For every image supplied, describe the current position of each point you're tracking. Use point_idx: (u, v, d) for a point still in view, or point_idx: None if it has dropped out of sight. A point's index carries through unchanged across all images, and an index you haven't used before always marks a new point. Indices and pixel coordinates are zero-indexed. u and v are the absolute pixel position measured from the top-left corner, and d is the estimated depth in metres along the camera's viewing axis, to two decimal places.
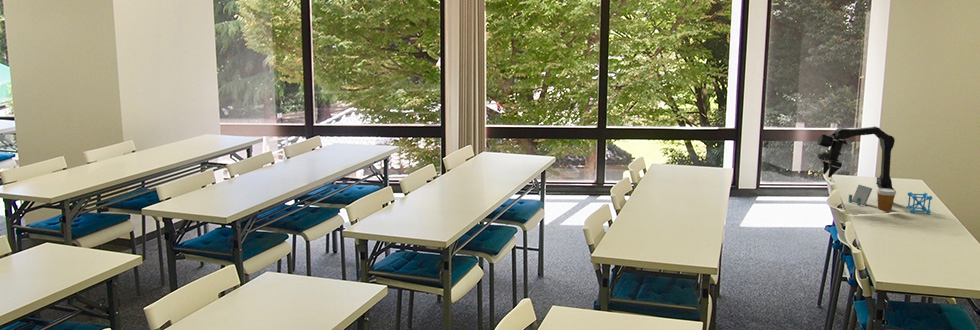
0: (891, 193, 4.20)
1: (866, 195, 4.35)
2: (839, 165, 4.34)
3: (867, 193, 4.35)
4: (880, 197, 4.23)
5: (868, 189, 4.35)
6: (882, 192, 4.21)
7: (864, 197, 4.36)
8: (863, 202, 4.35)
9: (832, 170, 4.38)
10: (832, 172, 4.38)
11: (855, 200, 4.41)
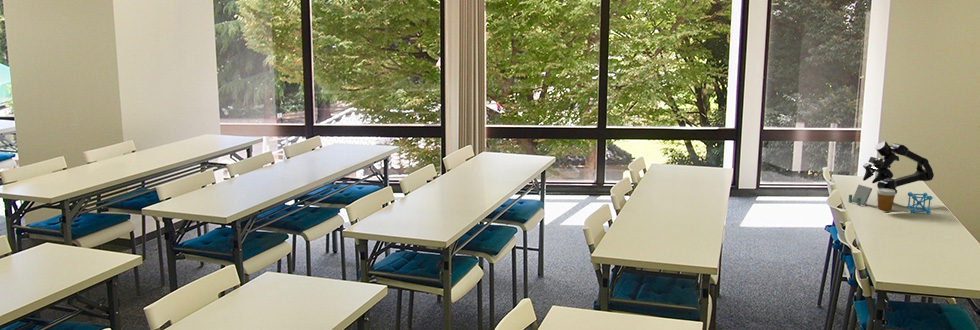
0: (891, 193, 4.20)
1: (866, 195, 4.35)
2: (891, 175, 4.30)
3: (867, 193, 4.35)
4: (880, 197, 4.23)
5: (868, 189, 4.35)
6: (882, 192, 4.22)
7: (864, 197, 4.36)
8: (863, 202, 4.35)
9: (879, 177, 4.34)
10: (878, 179, 4.34)
11: (855, 200, 4.41)
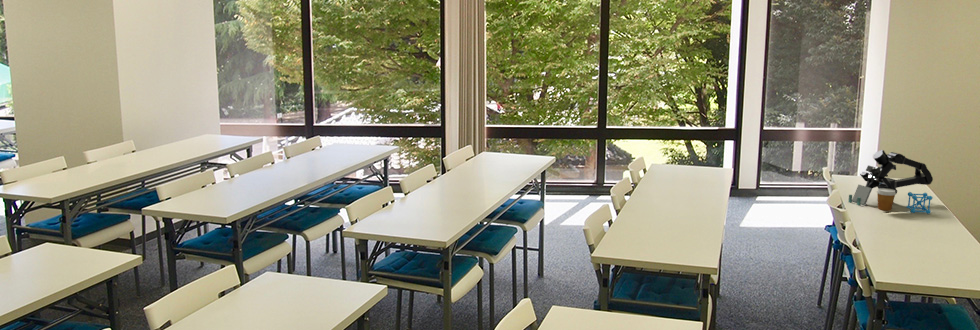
0: (891, 193, 4.20)
1: (866, 195, 4.35)
2: (888, 184, 4.31)
3: (867, 193, 4.35)
4: (880, 197, 4.23)
5: (868, 189, 4.35)
6: (882, 192, 4.22)
7: (864, 197, 4.36)
8: (863, 202, 4.35)
9: (872, 185, 4.38)
10: (871, 187, 4.38)
11: (855, 200, 4.41)
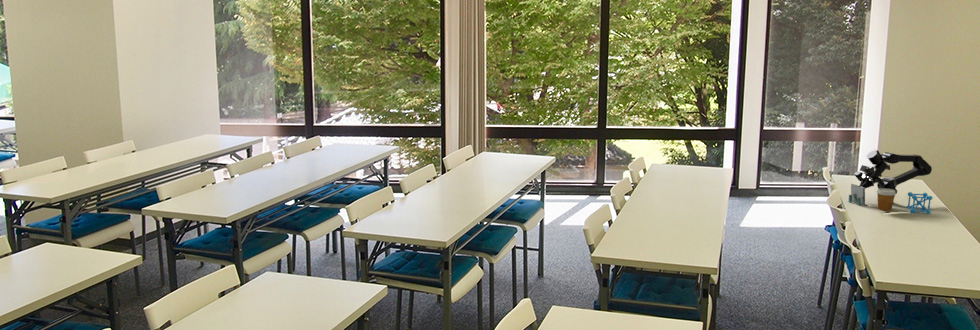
0: (891, 193, 4.20)
1: (862, 195, 4.34)
2: (882, 184, 4.30)
3: (862, 193, 4.34)
4: (880, 197, 4.23)
5: (861, 189, 4.34)
6: (882, 192, 4.22)
7: (861, 197, 4.35)
8: (862, 202, 4.35)
9: (866, 185, 4.37)
10: (865, 186, 4.37)
11: (854, 200, 4.41)
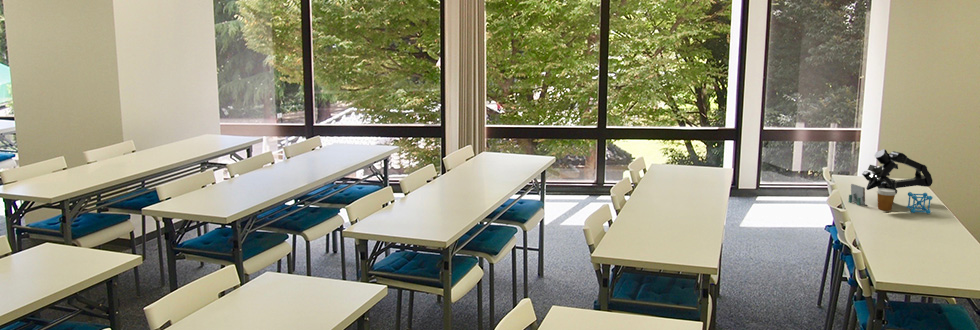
0: (891, 193, 4.20)
1: (862, 195, 4.34)
2: (890, 183, 4.31)
3: (862, 193, 4.34)
4: (880, 197, 4.23)
5: (861, 189, 4.34)
6: (882, 192, 4.22)
7: (861, 197, 4.35)
8: (862, 202, 4.35)
9: (874, 184, 4.38)
10: (873, 186, 4.38)
11: (854, 200, 4.41)
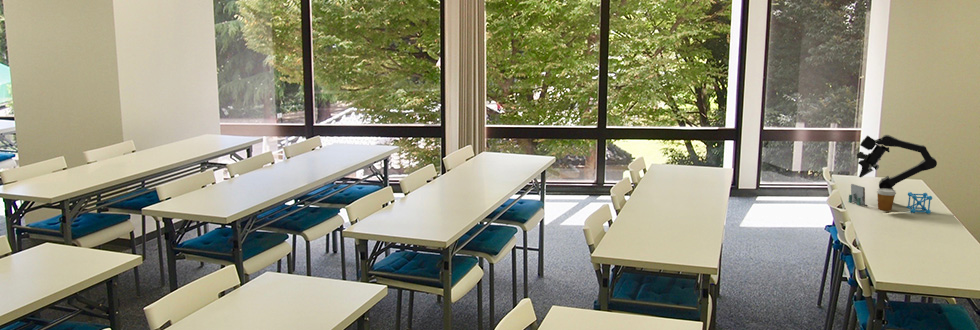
0: (891, 193, 4.20)
1: (862, 195, 4.34)
2: (866, 166, 4.37)
3: (862, 193, 4.34)
4: (880, 197, 4.23)
5: (861, 189, 4.34)
6: (882, 192, 4.22)
7: (861, 197, 4.35)
8: (862, 202, 4.35)
9: (864, 170, 4.45)
10: (863, 172, 4.45)
11: (854, 200, 4.41)
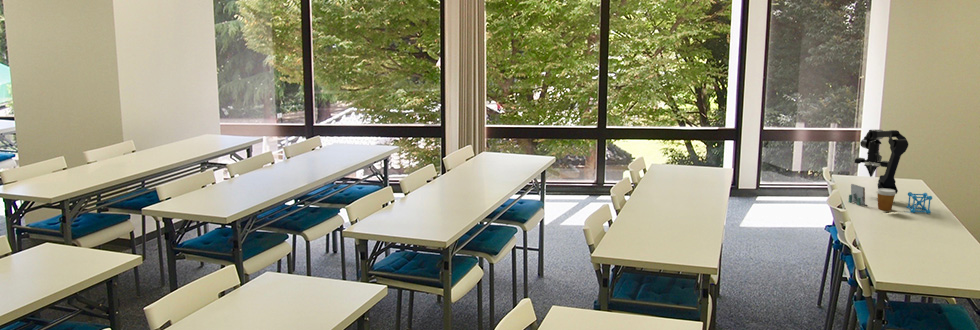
0: (891, 193, 4.20)
1: (862, 195, 4.34)
2: None
3: (862, 193, 4.34)
4: (880, 197, 4.23)
5: (861, 189, 4.34)
6: (882, 192, 4.22)
7: (861, 197, 4.35)
8: (862, 202, 4.35)
9: None
10: None
11: (854, 200, 4.41)
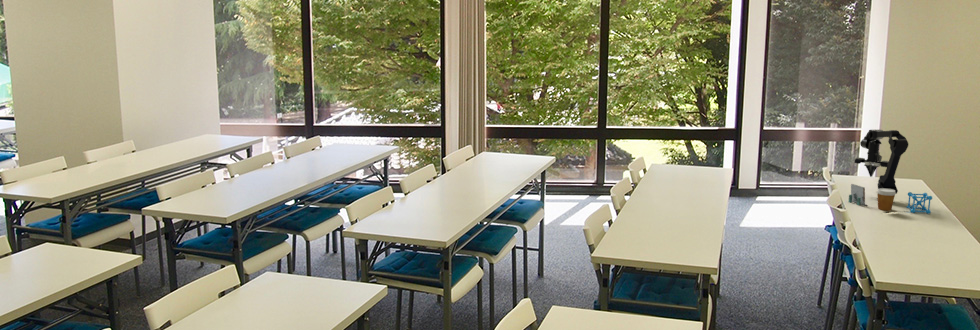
0: (891, 193, 4.20)
1: (862, 195, 4.34)
2: None
3: (862, 193, 4.34)
4: (880, 197, 4.23)
5: (861, 189, 4.34)
6: (882, 192, 4.22)
7: (861, 197, 4.35)
8: (862, 202, 4.35)
9: None
10: None
11: (854, 200, 4.41)
